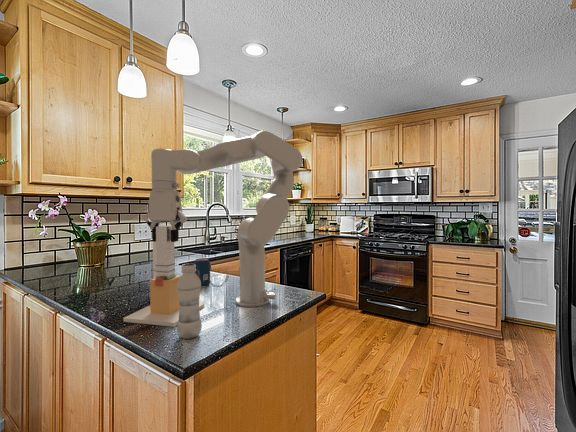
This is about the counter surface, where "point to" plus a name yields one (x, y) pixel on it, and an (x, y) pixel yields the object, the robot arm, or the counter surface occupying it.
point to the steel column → (165, 253)
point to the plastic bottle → (189, 303)
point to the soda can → (203, 271)
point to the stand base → (160, 304)
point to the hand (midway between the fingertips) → (165, 240)
